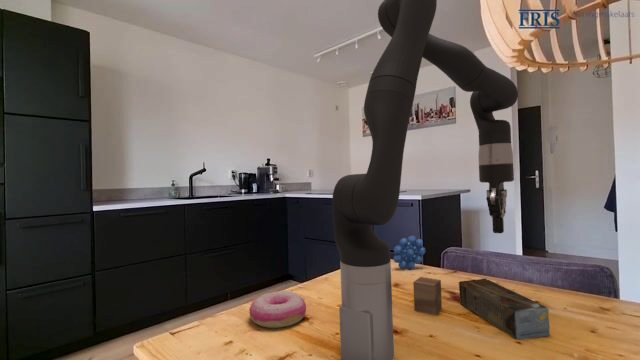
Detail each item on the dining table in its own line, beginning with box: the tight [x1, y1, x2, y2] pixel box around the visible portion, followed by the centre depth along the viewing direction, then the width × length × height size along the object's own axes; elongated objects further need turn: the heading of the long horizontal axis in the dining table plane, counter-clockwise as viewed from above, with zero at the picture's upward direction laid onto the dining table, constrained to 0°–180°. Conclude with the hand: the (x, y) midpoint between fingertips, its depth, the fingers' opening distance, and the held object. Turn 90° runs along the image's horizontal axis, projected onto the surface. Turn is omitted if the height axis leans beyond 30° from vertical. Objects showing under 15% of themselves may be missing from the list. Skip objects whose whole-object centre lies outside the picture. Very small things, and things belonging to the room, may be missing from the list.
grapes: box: [393, 235, 426, 270], centre depth 113 cm, size 12×7×12 cm, turn 93°
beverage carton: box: [458, 278, 551, 341], centre depth 71 cm, size 8×19×7 cm, turn 8°
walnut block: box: [412, 276, 443, 316], centre depth 77 cm, size 5×5×7 cm
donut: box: [249, 290, 307, 329], centre depth 75 cm, size 14×13×5 cm
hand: (498, 232), depth 78 cm, fingers closed
